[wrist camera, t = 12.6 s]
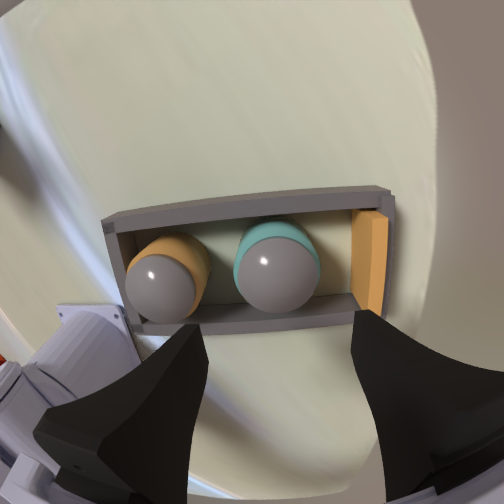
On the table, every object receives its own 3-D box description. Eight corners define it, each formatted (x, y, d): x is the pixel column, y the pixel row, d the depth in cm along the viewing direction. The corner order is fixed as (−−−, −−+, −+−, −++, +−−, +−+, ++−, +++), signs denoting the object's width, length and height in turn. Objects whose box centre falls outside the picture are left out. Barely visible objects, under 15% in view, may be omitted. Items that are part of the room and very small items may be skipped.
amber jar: (216, 292, 21) (205, 327, 16) (155, 296, 21) (134, 327, 17) (205, 227, 19) (189, 249, 15) (140, 235, 19) (111, 257, 15)
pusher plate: (362, 288, 20) (380, 315, 16) (350, 289, 20) (366, 318, 16) (364, 204, 18) (388, 217, 14) (351, 205, 18) (372, 218, 14)
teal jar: (314, 277, 20) (327, 309, 16) (246, 288, 20) (243, 323, 16) (304, 209, 18) (317, 226, 14) (231, 223, 19) (222, 244, 15)
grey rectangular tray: (372, 301, 20) (385, 321, 18) (145, 318, 22) (132, 338, 19) (376, 185, 17) (394, 191, 15) (117, 212, 19) (97, 222, 16)
